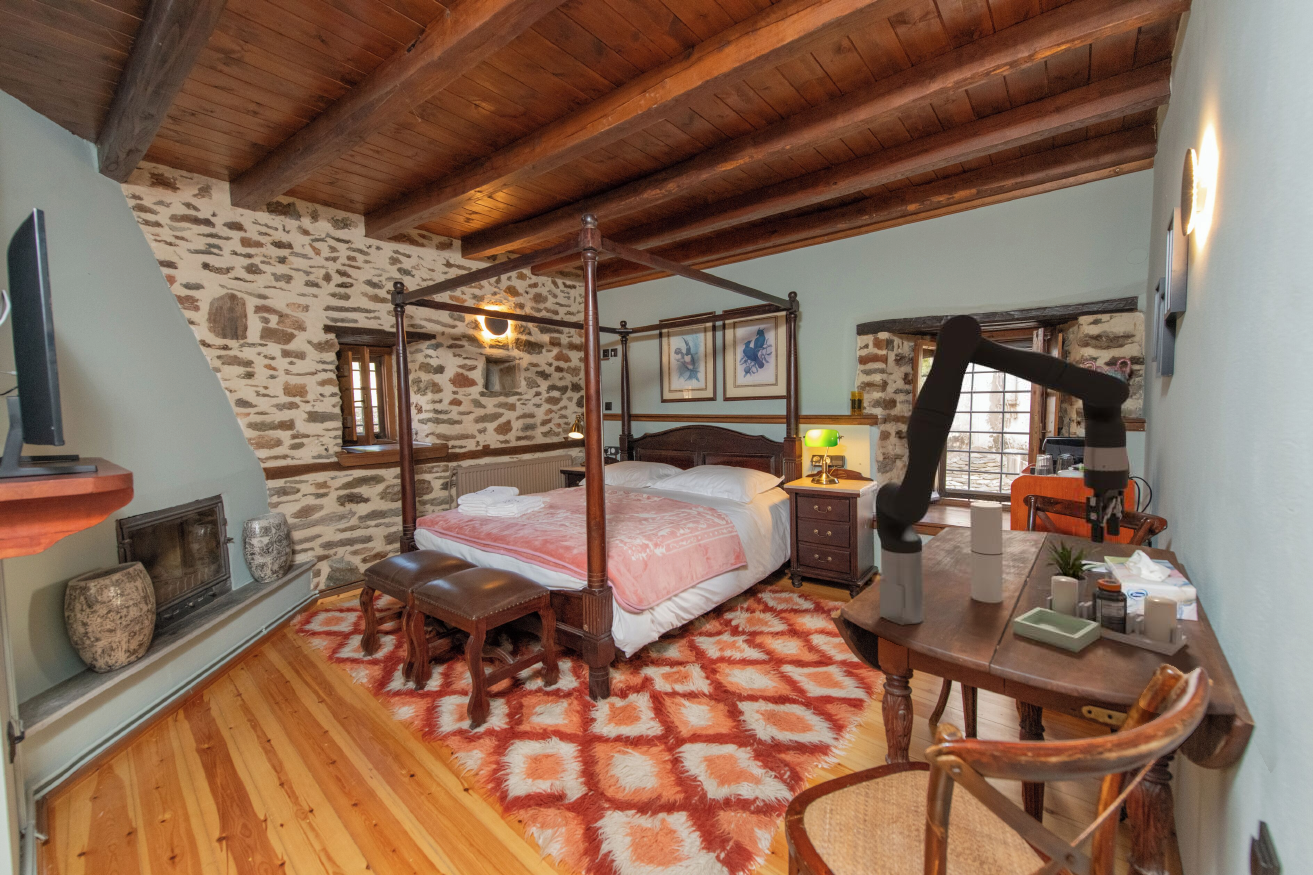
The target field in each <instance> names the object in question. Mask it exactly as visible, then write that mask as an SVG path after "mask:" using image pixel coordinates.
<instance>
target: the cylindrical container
mask: <svg viewBox="0 0 1313 875" xmlns="http://www.w3.org/2000/svg"><path fill="white" fill-rule="evenodd" d="M969 506H970V514H969V515H970V516H969V517H970V597H971V598H972V599H973V600H975V601H979V602H982V603H988V604H989V603H991V604H997V603H1002V602H1003V601H1004V600H1003V595H1004V592H1003V591H1004V590H1003V588H1004V587H1003V586H1004V585H1003V579H1004V578H1003V572H1004V571H1003V570H1004V569H1003V566H1004V565H1003V560H1004V559H1003V550H1004V549H1003V546H1004V545H1003V504H1001V503H997V502H992V501H991V502H990V501H976V502H974V501H973V502H970V505H969Z"/></svg>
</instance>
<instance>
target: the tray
mask: <svg viewBox="0 0 1313 875" xmlns="http://www.w3.org/2000/svg"><path fill="white" fill-rule="evenodd" d="M1012 633H1013V634H1016V635H1019V636H1022V637H1025V638H1029V639H1032V640H1035V641H1039V642H1041V643H1046V644H1049V645H1050V646H1051V645H1052V646H1054V647H1057V648H1061V649H1064V650H1068V651H1071V652H1073V653H1078V652H1080V651H1081V650H1083V649H1084V648H1086V647H1087V646H1089V645H1090V644H1092V643H1093V642H1094V641H1096V640H1098V639H1100V637H1101V636H1100V623H1097V622H1093V621H1089V620H1085V619H1082V618H1078V617H1074V616H1070V615H1066V614H1063V613H1059V612H1055V611H1051V610H1047V608H1043V607H1039V606H1037V607H1035V608H1033V609H1032V610H1030V611H1027V612H1025V613H1023V614H1022V615H1020V616H1017V617H1016V618H1014V619H1013V620H1012Z"/></svg>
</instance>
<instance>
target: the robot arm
mask: <svg viewBox="0 0 1313 875" xmlns="http://www.w3.org/2000/svg"><path fill="white" fill-rule="evenodd" d="M970 364H973V365H977V366H981V367H984V368H988V369H992V370H996V371H999V372H1001V373H1005V374H1008V375H1010V376H1013V377H1016V378H1019V379H1022V380H1024V381H1026V382H1029V383H1031V384H1035V385H1037V386H1039V387H1042V388H1044V389H1048V390H1050V391H1054V392H1056V393H1061V394H1064V395H1069V396H1071V397H1073V398H1075V399H1078V400H1081V404H1082V405H1081V406H1082V411H1083V418H1084V425H1085V428H1084V451H1083V452H1084V453H1083V486H1084V488H1087V489H1092V491H1093V494H1092V495H1091V496H1089V495H1087V496H1086V497H1085V524H1088V525H1090V531H1091V532H1090V536H1091V537H1090V538H1091V539H1090V540H1091V542H1093V543H1097V544H1103V543H1105V542H1106V536H1105V535H1107V536H1112V537H1118V536H1120V534H1121V520H1122V517H1123V516H1124V515H1125V514H1126V512H1125V490H1126V489H1128V488H1129V458H1128V456H1129V455H1128V450H1127V428H1126V427H1127V426H1126V424H1125V422H1124V420H1123V419H1122V405H1123V404H1125V403H1126V402H1127V400H1128V399H1129V397H1130V393H1131V392H1130V391H1131V390H1130V387H1129V385H1128V384H1127V382H1125V380H1123V379H1121V378H1119V377H1118V376H1114V375H1111V374H1109V373H1106V372H1102V371H1100V370H1099V371H1098V370H1094V369H1091V368H1087V367H1083V366H1081V365H1078V364H1076V363H1074V362H1072V361H1069V360H1067V359H1066V360H1065V359H1063V358H1060V357H1058V356H1055V355H1052V354H1049V353H1046V352H1043V351H1042V352H1041V351H1037V350H1033V349H1028V348H1023V347H1022V348H1021V347H1015V346H1010V345H1009V346H1008V345H1007V344H1002V343H999V342H995V341H993V340H991V339H989V338H987V337H985V336H983V330H982V326H981V323H980V322H979V320H978V319H976V318H975V317H974V316H972V315H971V314H968V313H967V314H966V313H960V314H956V315H953V316H951V317H950V318H948V319H946V320H945V321H944V322H943V323H942V324H941V326H940V327H939V329H938V332H937V336H936V338H935V353H934V356H933V361H932V364H931V367H930V369H929V371H928V374H927V377H926V378H925V380H924V382H923V384H922V385H921V388H920V391H919V393H918V394H917V398H916V400H915V402H914V404H913V407H912V410H911V413H910V416H909V419H908V422H907V425H906V444H907V450H908V452H907V454H908V459H907V460H908V461H907V466H906V469H905V470H906V471H905V474H904V476H903V479H902V481H901V482H898V481H889V482H885V483H884V484H883V485H882V486H880V488H879V489H878V491H877V493H876V496H875V522H876V531H877V532H876V533H877V535H878V539H879V541H880V565H881V566H880V570H881V571H880V572H881V575H880V578H881V579H879V617H880V616H882V617H884V618H886V619H888V620H887V621H889V620H890V621H889V622H892V623H896V624H898V625H900V626H904V625H914V624H915V625H917V624H921V623H922V622H923V621H924V594H923V592H924V591H923V586H924V585H923V540H922V538H921V536H920V535H919V534H918V532H916V530H915V528H914V526H913V525H916V524H917V523H918V524H919V522H921V521H922V520H924V518H925V516H926V514H927V513H928V510H929V507H930V505H931V501H932V495H933V491H934V486H935V480H936V477H937V472H938V469H939V465H940V463H941V459H942V455H943V452H944V450H945V446H946V442H947V441H948V437H949V435H950V432H951V429H952V426H953V423H954V421H955V417H956V414H957V409H958V406H959V402H960V398H961V394H962V393H961V392H962V388H963V383H964V379H965V376H966V372H967V370H968V367H969V365H970ZM1105 526H1106V527H1105ZM1105 533H1106V534H1105ZM886 619H885V620H886Z"/></svg>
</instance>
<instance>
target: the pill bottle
mask: <svg viewBox="0 0 1313 875" xmlns="http://www.w3.org/2000/svg"><path fill="white" fill-rule="evenodd" d="M1091 595H1092V596H1091V597H1092V598H1091V599H1092V601H1091V602H1092V621H1093V622H1097V623H1100V627H1102V628H1106V629H1110V630H1111V631H1114V632H1117V633H1121V634H1125V635H1126V616H1127V615H1128V596H1127V594H1126V593H1125V592H1123V591H1122V583H1121V582H1120V581H1119V580H1118V581H1117V580H1114V579H1109V578H1108V579H1105V578H1102V579H1098V580H1097V588H1094V589H1093V590H1092V594H1091Z"/></svg>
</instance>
